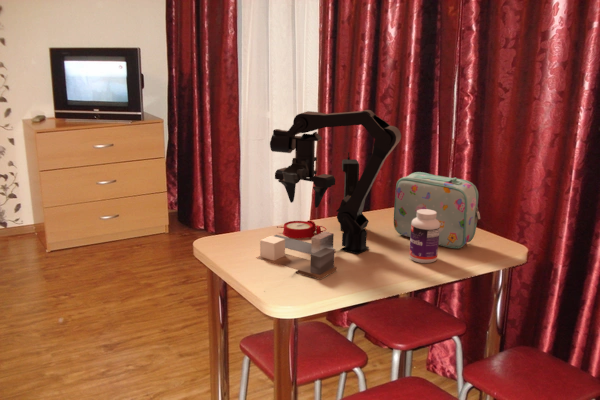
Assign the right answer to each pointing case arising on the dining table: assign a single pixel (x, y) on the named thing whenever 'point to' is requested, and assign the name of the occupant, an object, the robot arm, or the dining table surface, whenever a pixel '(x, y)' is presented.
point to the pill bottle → (424, 237)
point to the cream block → (272, 248)
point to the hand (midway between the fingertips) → (304, 204)
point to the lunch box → (438, 206)
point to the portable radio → (350, 176)
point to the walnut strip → (309, 263)
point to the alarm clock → (301, 229)
